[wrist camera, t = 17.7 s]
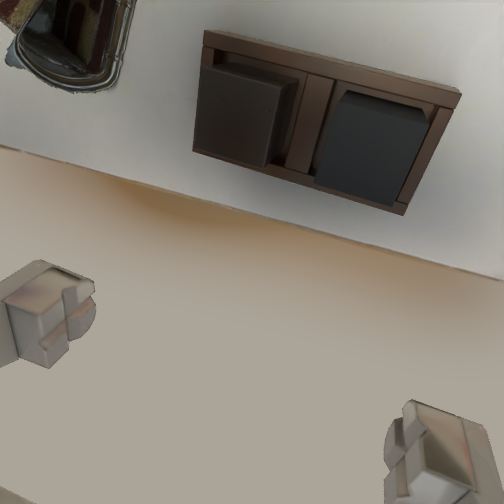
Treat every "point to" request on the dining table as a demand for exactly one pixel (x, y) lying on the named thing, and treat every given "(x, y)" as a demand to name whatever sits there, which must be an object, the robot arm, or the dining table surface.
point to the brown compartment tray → (298, 108)
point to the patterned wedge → (68, 40)
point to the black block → (370, 147)
